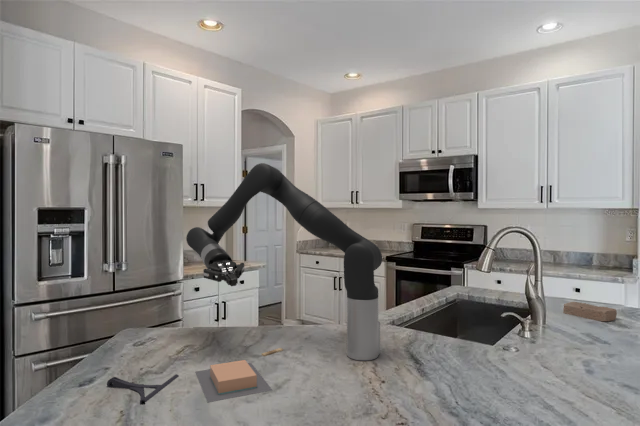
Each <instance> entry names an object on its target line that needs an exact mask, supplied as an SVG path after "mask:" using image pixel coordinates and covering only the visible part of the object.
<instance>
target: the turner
mask: <svg viewBox="0 0 640 426" xmlns="http://www.w3.org/2000/svg"><path fill="white" fill-rule="evenodd" d="M283 351H284V348H282V347H279V348H275V349H273V350H269V351H265V352H262V353H261V356H263V357H267V356H270V355H274V354H277V353H279V352H283Z"/></svg>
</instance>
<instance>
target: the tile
mask: <svg viewBox="0 0 640 426" xmlns="http://www.w3.org/2000/svg"><path fill="white" fill-rule="evenodd" d="M209 369H210V378H211V380H212V382H213V384H214V386H215V388H216V390H217V392H218V394H219V395H220V394H225V393H231V392H236V391H242V390H247V389H253V388H257V375H256V374H255V372H254V371H253V370H252V368H251V367H250V366H249V364H248V361H246V359H243V360H235V361H229V362H223V363H216V364H211V365H209Z"/></svg>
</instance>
